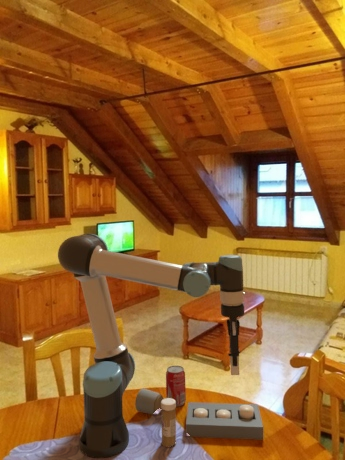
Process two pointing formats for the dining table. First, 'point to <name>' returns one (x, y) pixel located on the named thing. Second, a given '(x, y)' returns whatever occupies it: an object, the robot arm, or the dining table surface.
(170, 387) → the soda can
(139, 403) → the ceramic mug
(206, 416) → the left button
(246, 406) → the right button
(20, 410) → the dining table surface
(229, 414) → the middle button
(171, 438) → the sprinkles bottle
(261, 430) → the button board
